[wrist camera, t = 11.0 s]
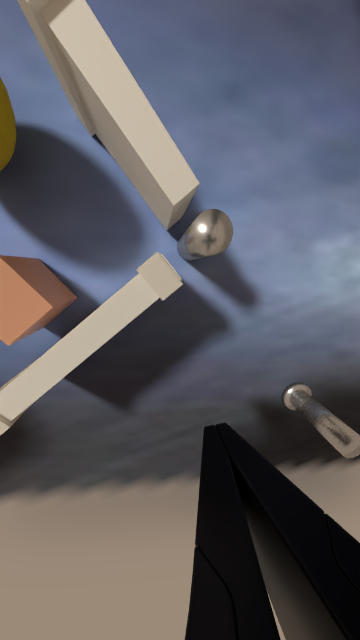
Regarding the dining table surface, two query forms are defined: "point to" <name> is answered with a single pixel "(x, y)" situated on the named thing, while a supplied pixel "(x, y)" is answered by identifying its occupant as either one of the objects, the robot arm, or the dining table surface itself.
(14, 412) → the gate
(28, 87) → the dining table surface
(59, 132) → the dining table surface
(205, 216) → the hinge post
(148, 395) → the dining table surface
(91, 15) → the fence panel
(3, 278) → the block
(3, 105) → the lemon
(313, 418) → the post
